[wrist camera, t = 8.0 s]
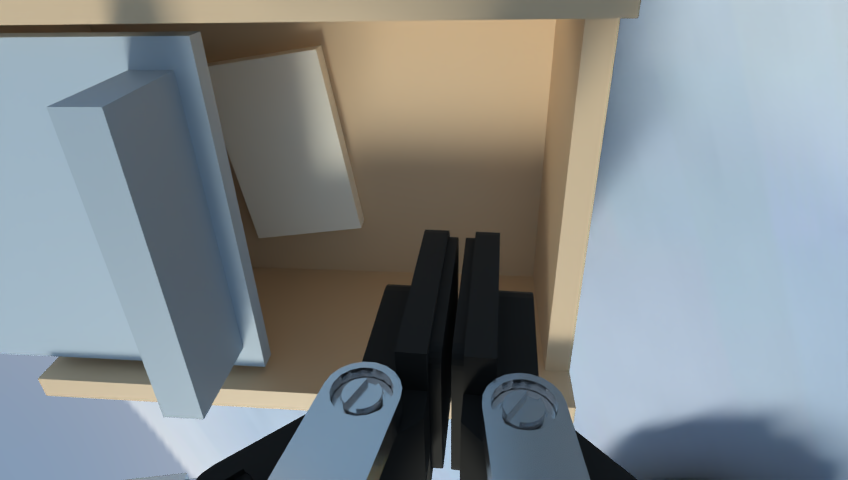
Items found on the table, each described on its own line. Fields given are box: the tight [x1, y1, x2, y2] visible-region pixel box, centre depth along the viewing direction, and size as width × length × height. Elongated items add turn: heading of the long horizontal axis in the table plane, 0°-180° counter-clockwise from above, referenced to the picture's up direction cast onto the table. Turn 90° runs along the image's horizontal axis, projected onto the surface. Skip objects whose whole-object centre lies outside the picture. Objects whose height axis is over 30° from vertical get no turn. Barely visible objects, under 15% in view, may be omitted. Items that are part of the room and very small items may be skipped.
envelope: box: [207, 45, 364, 238], centre depth 21 cm, size 7×4×1 cm, turn 9°
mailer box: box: [0, 0, 641, 422], centre depth 19 cm, size 13×18×8 cm
